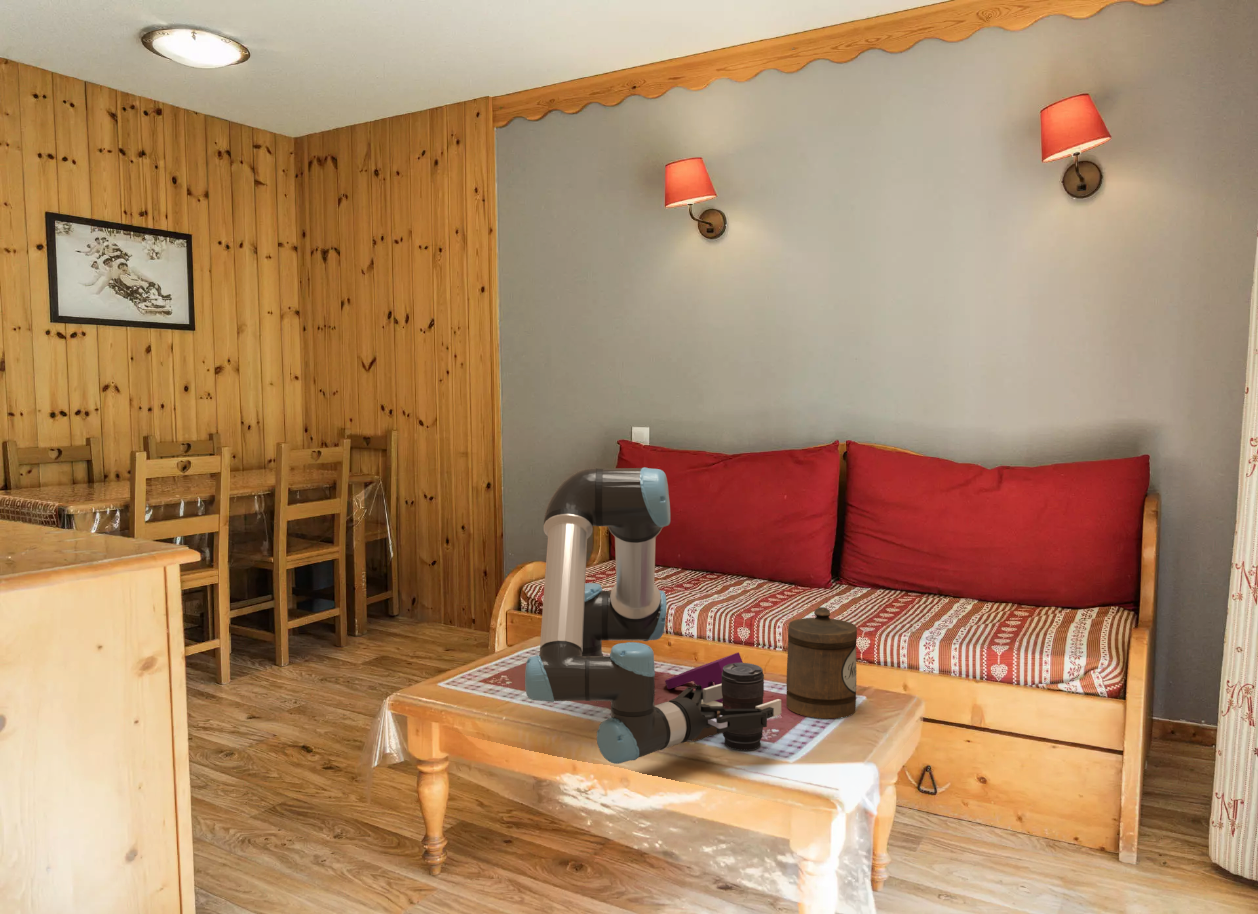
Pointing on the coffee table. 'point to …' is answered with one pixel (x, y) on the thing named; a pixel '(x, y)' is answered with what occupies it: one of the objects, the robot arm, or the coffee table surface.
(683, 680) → the mounting bracket
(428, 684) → the coffee table surface
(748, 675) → the camera lens
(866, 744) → the coffee table surface
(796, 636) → the wooden container
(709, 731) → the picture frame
